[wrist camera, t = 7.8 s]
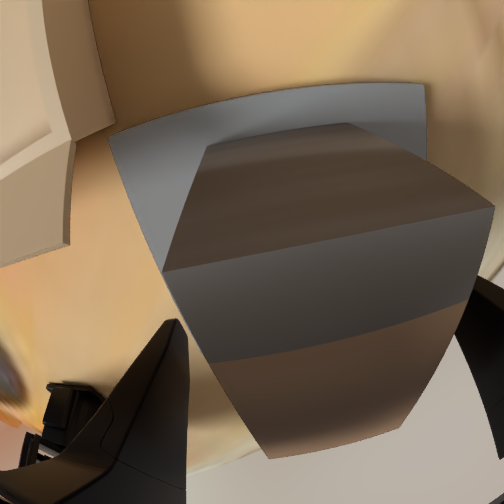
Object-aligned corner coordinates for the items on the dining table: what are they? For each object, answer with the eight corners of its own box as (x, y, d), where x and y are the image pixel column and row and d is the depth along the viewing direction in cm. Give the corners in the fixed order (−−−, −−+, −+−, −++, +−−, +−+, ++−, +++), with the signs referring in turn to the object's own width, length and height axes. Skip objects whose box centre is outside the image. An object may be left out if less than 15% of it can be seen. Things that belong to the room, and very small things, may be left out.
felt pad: (399, 298, 15) (406, 309, 15) (202, 339, 16) (201, 352, 15) (410, 82, 9) (423, 84, 8) (117, 132, 10) (107, 138, 9)
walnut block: (351, 305, 14) (399, 427, 8) (255, 325, 14) (268, 459, 8) (347, 122, 9) (494, 206, 3) (207, 146, 9) (161, 272, 3)
